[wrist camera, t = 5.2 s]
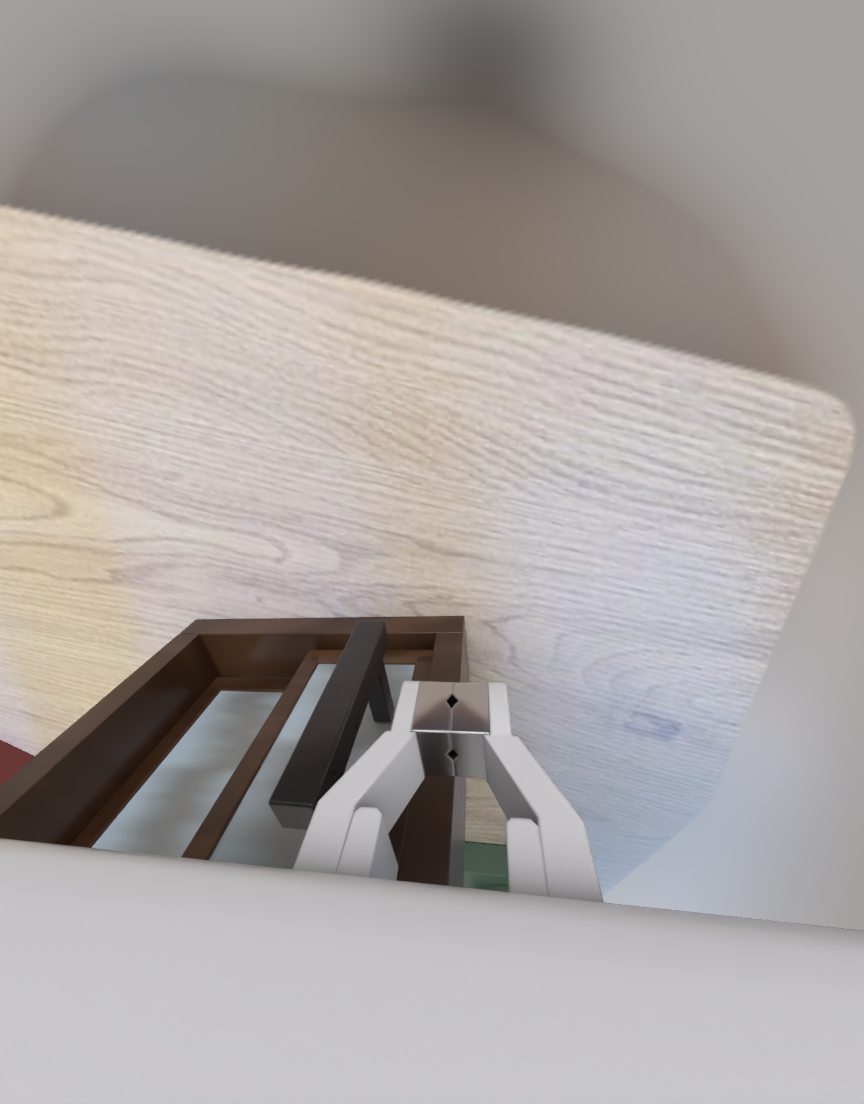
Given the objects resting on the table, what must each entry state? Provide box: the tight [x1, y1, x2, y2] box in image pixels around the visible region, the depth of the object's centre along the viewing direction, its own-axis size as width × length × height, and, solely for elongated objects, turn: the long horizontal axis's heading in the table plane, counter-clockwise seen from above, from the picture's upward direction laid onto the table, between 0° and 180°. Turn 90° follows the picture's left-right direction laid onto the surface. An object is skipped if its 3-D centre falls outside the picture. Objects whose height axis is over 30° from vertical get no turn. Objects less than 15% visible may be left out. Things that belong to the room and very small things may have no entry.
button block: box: [463, 842, 508, 892], centre depth 32 cm, size 10×10×4 cm
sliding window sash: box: [181, 620, 433, 869], centre depth 13 cm, size 8×5×11 cm
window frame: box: [0, 616, 469, 887], centre depth 15 cm, size 18×5×16 cm, turn 96°
